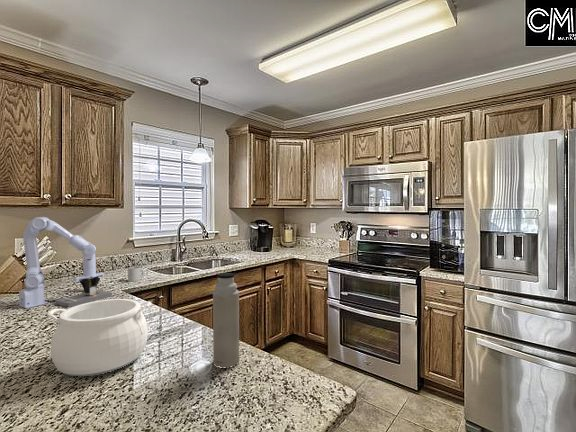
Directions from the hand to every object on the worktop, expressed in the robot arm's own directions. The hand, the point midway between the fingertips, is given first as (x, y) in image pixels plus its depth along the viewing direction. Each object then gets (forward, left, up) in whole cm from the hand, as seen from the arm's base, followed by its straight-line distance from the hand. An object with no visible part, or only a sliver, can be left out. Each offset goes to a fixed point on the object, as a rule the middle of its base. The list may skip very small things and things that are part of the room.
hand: (90, 292), depth 169 cm
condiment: (+9, +16, -4) cm, 19 cm away
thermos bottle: (-22, -109, -4) cm, 111 cm away
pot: (-39, -73, -4) cm, 83 cm away
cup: (+39, +15, -4) cm, 42 cm away
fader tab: (0, 0, -1) cm, 1 cm away
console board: (-3, 0, -3) cm, 4 cm away
